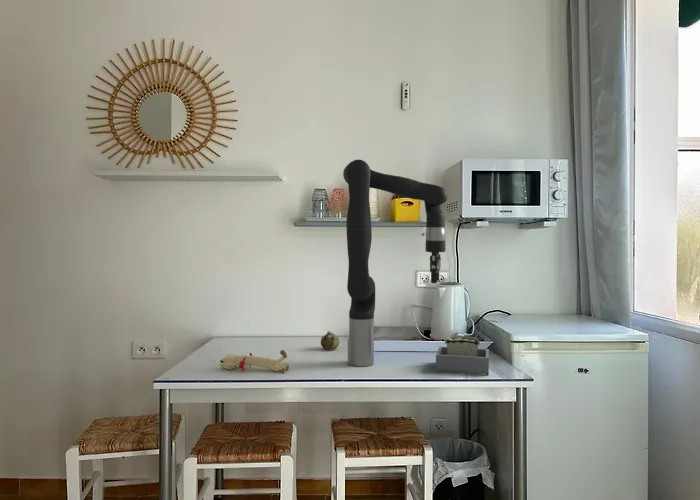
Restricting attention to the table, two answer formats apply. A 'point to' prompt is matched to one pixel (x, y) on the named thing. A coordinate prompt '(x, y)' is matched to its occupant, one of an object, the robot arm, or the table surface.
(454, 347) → the food container
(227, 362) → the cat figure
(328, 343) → the onion
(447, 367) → the grey bin
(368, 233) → the robot arm
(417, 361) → the table surface
